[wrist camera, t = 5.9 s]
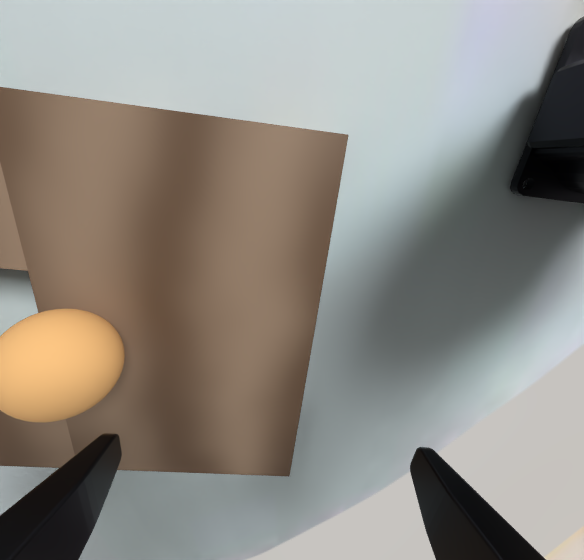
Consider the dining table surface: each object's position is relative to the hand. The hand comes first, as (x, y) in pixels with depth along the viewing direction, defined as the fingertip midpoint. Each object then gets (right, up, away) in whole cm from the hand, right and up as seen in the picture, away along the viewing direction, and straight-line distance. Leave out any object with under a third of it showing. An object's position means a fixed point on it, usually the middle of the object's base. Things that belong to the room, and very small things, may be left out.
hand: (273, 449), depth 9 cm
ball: (-8, +2, +2) cm, 8 cm away
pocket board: (-9, +4, +6) cm, 12 cm away
